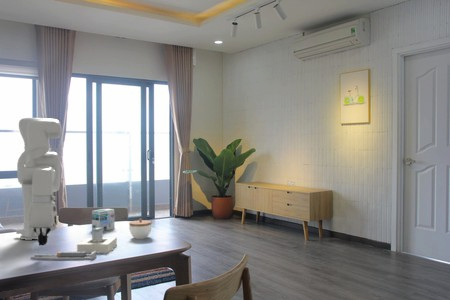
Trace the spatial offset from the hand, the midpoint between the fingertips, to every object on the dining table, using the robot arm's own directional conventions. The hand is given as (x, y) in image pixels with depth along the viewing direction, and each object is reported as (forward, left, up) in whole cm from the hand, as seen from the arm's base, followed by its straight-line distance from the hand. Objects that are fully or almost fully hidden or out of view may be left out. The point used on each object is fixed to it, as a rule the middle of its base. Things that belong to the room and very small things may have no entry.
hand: (42, 244), depth 162 cm
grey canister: (+17, +14, -5) cm, 23 cm away
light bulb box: (+6, +57, -6) cm, 58 cm away
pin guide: (+8, -1, -5) cm, 10 cm away
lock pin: (+12, -1, -5) cm, 13 cm away
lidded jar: (+31, +36, -6) cm, 48 cm away
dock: (+17, +14, -5) cm, 23 cm away
